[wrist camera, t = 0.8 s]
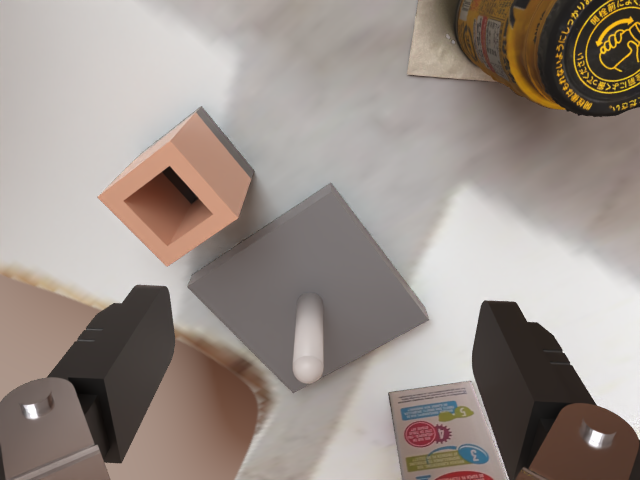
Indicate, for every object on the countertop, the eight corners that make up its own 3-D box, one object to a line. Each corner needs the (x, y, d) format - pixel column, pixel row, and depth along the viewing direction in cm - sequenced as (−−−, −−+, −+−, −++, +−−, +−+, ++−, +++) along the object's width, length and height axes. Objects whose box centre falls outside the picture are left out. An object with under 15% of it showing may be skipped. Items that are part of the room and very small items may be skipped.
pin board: (192, 275, 36) (156, 359, 28) (331, 182, 32) (334, 249, 25) (294, 379, 40) (287, 476, 32) (425, 307, 37) (452, 397, 29)
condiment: (549, 85, 30) (677, 149, 19) (406, 74, 29) (455, 131, 19) (590, -58, 26) (774, -79, 16) (429, -74, 26) (504, -106, 15)
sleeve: (141, 152, 31) (97, 197, 25) (201, 106, 30) (170, 140, 24) (195, 212, 33) (166, 266, 27) (254, 170, 32) (238, 218, 26)
